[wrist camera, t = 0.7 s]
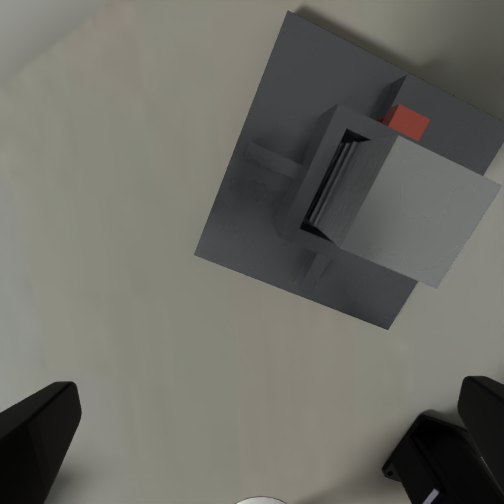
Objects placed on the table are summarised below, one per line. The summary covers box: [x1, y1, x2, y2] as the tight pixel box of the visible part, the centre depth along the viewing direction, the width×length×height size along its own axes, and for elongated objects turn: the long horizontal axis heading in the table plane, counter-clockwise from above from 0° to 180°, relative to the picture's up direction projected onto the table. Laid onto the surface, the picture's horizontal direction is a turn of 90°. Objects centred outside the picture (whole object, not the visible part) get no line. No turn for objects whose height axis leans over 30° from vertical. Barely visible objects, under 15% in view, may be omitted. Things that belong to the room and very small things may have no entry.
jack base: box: [194, 11, 504, 330], centre depth 17 cm, size 14×14×4 cm
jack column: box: [304, 135, 502, 289], centre depth 14 cm, size 4×4×8 cm
